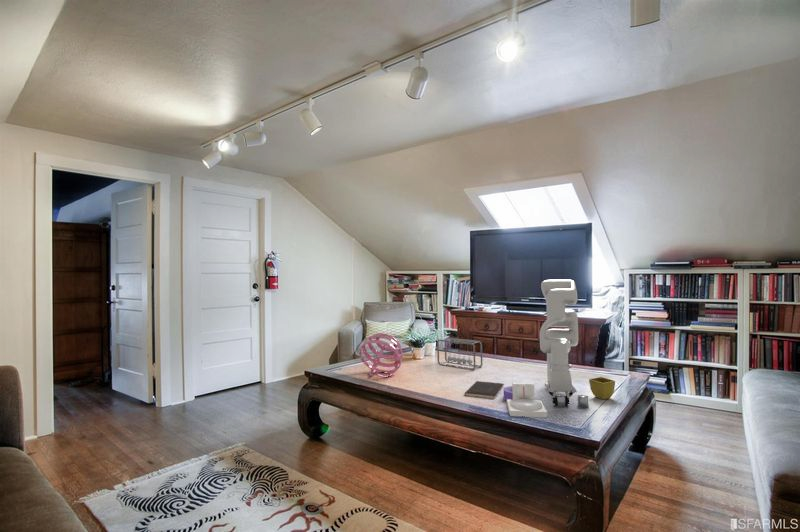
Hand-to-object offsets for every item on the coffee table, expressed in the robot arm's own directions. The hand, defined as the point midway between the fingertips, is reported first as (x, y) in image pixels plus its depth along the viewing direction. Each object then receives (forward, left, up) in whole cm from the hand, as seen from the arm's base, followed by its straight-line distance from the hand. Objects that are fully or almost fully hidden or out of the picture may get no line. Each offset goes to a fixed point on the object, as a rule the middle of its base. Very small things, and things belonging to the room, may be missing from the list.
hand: (560, 405), depth 193 cm
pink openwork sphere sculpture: (-50, -98, -1) cm, 110 cm away
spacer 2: (0, +10, 0) cm, 10 cm away
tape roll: (-9, -20, -1) cm, 22 cm away
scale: (+7, -17, 0) cm, 18 cm away
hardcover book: (-21, -35, -1) cm, 41 cm away
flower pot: (-15, +23, -1) cm, 27 cm away
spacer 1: (0, 0, 0) cm, 0 cm away
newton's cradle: (-77, -50, -1) cm, 92 cm away
